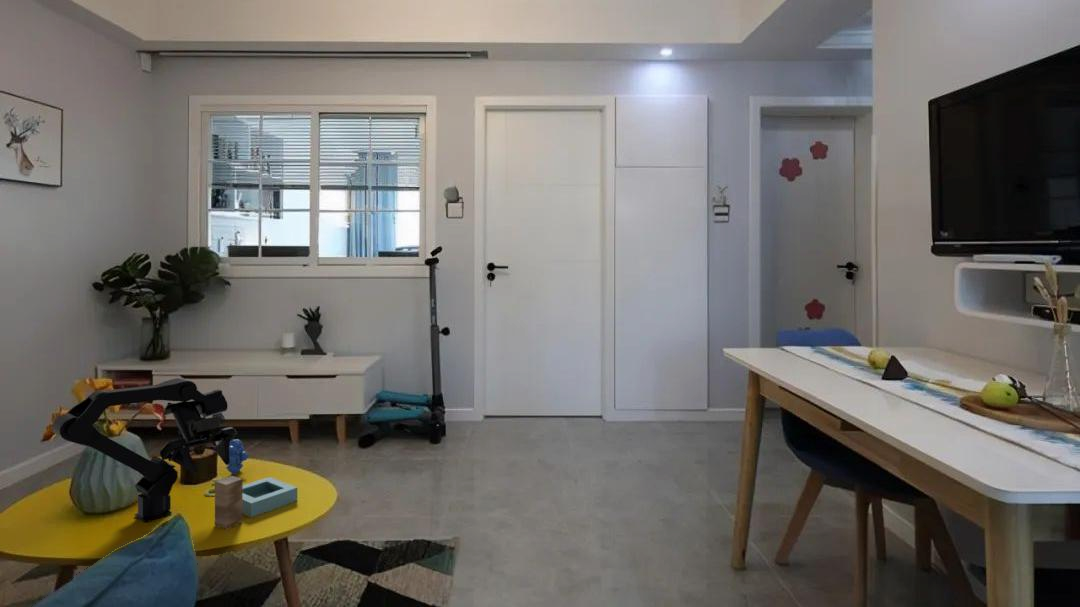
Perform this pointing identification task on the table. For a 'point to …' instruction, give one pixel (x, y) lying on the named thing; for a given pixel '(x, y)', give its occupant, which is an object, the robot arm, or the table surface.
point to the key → (212, 488)
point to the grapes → (236, 456)
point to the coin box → (266, 496)
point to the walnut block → (228, 501)
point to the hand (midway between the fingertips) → (212, 468)
